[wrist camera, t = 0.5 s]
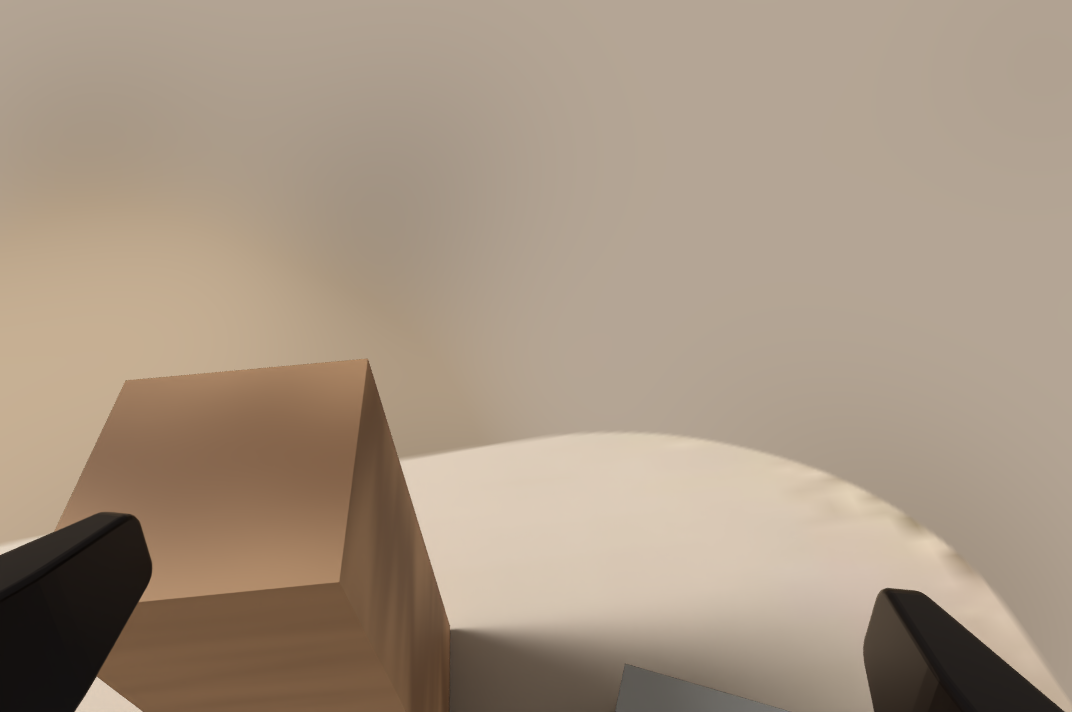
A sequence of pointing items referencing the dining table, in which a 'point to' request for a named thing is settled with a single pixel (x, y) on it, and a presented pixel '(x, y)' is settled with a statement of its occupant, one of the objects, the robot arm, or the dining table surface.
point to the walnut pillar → (268, 546)
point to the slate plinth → (677, 695)
